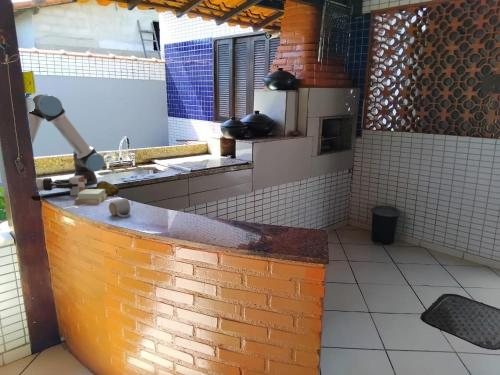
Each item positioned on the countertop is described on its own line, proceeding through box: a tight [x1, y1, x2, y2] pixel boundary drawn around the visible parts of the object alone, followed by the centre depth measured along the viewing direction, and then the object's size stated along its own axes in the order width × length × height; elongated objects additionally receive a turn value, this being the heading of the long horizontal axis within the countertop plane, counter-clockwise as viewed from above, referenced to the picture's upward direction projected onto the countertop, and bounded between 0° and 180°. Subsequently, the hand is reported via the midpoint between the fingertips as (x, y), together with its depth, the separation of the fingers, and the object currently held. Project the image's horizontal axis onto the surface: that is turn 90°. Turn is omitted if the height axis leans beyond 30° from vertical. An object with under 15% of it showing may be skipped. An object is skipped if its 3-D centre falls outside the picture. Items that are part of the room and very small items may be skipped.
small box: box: [68, 176, 86, 196], centre depth 219 cm, size 8×6×10 cm
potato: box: [96, 180, 119, 196], centre depth 219 cm, size 8×13×8 cm, turn 60°
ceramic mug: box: [108, 197, 131, 218], centre depth 180 cm, size 11×8×8 cm
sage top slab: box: [77, 188, 105, 199], centre depth 205 cm, size 11×11×3 cm
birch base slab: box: [74, 194, 108, 205], centre depth 206 cm, size 13×13×3 cm
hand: (85, 182), depth 220 cm, fingers closed on small box, 9 cm apart
